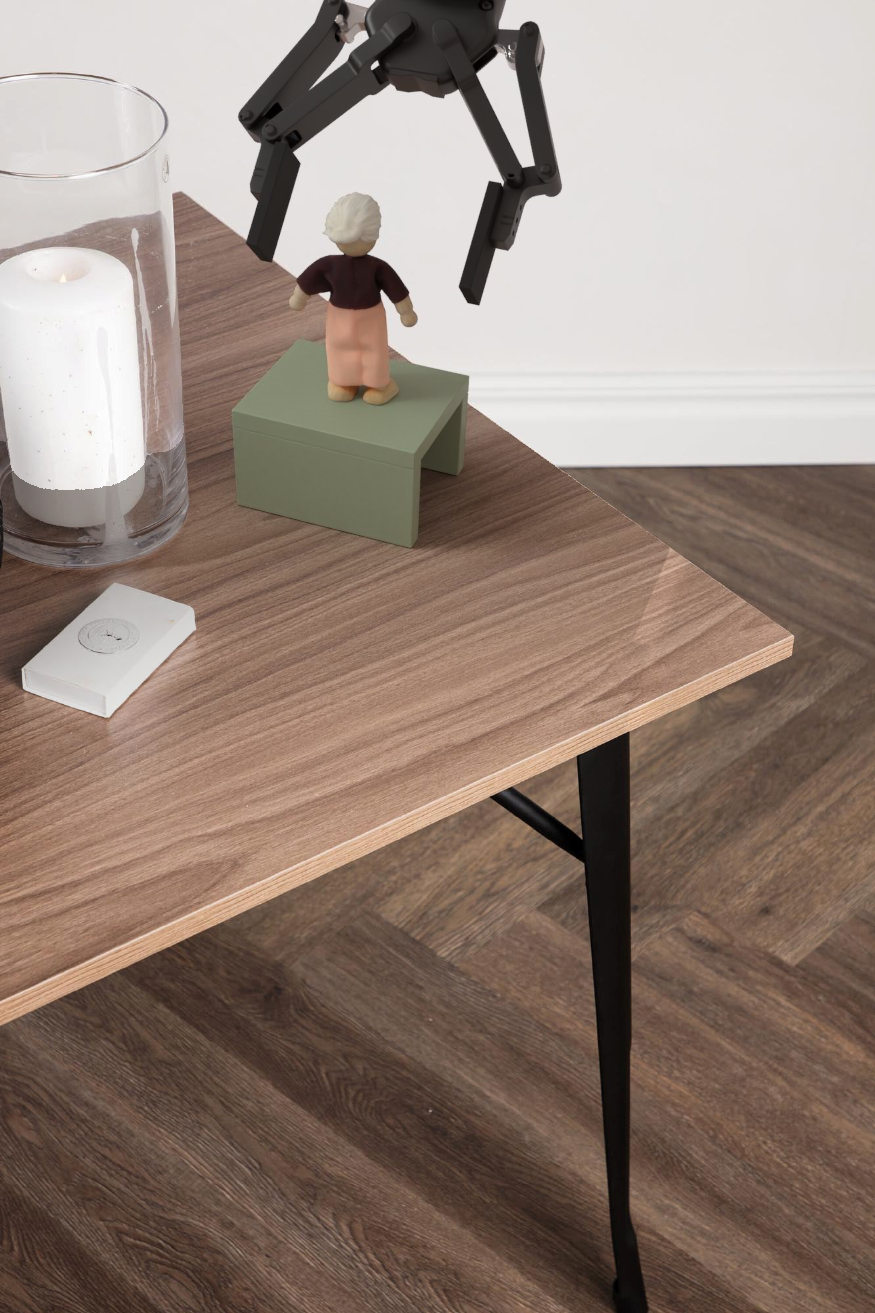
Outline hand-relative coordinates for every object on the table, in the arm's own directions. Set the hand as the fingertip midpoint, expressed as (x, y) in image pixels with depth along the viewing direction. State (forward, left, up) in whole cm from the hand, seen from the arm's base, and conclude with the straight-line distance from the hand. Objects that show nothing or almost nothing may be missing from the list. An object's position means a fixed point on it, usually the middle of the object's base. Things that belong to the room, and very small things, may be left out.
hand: (361, 275), depth 85 cm
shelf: (0, -1, -14) cm, 14 cm away
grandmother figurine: (0, -1, -8) cm, 8 cm away
